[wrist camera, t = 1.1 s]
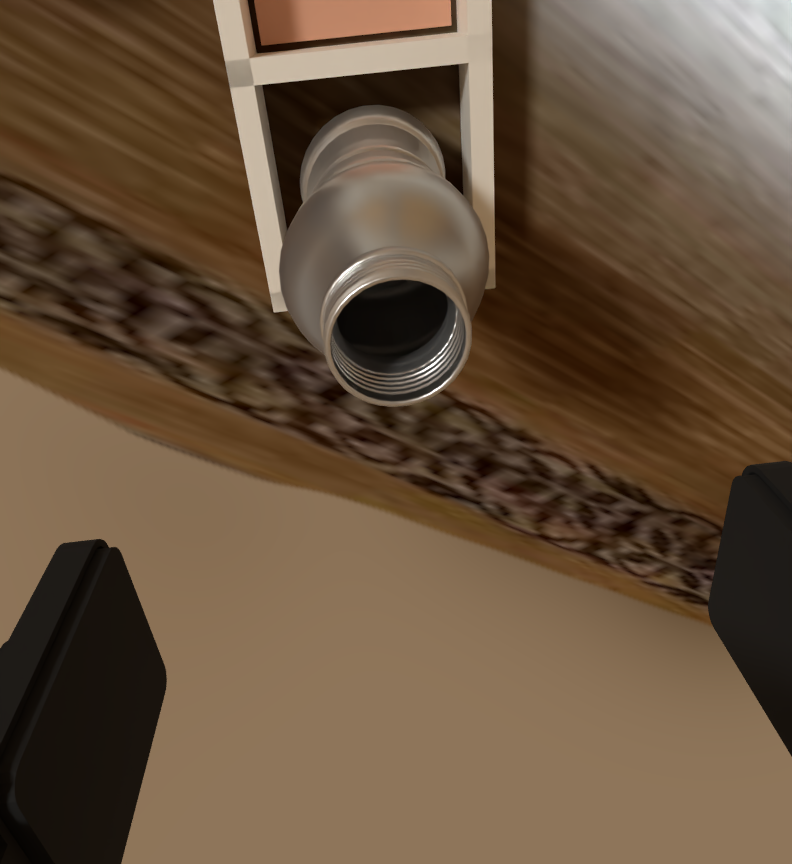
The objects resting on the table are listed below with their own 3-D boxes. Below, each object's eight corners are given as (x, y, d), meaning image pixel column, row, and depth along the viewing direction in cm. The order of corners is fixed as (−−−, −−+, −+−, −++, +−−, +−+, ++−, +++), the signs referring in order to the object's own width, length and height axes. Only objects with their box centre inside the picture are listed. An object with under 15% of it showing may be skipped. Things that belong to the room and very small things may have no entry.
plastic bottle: (461, 192, 35) (576, 377, 18) (346, 261, 36) (351, 492, 19) (397, 67, 32) (462, 148, 15) (274, 148, 33) (204, 305, 16)
